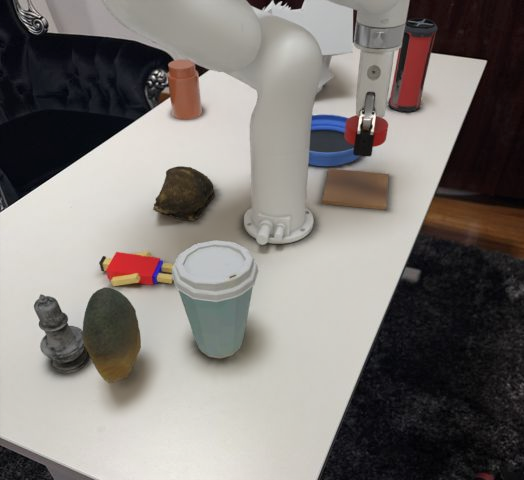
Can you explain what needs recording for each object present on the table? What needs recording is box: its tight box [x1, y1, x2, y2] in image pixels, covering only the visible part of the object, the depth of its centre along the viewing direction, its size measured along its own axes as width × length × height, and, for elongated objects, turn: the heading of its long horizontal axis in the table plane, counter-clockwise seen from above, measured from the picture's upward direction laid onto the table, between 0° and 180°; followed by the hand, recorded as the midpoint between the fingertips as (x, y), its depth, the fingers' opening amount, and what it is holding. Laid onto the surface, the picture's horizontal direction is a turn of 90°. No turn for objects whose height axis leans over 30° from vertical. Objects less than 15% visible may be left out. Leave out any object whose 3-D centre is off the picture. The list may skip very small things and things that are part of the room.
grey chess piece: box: [33, 293, 91, 374], centre depth 64 cm, size 6×6×12 cm
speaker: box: [388, 17, 438, 113], centre depth 115 cm, size 8×8×18 cm
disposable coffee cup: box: [171, 239, 259, 359], centre depth 65 cm, size 11×11×15 cm
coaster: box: [321, 168, 389, 211], centre depth 97 cm, size 12×12×1 cm
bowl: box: [308, 113, 361, 167], centre depth 107 cm, size 18×18×4 cm
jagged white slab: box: [261, 0, 354, 95], centre depth 119 cm, size 20×16×25 cm
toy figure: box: [98, 250, 174, 287], centre depth 80 cm, size 2×7×12 cm
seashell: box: [152, 165, 216, 221], centre depth 92 cm, size 16×9×7 cm, turn 160°
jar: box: [166, 58, 203, 120], centre depth 117 cm, size 7×7×11 cm
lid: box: [344, 114, 389, 148], centre depth 88 cm, size 8×8×2 cm
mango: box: [82, 286, 142, 384], centre depth 61 cm, size 10×6×15 cm, turn 170°
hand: (363, 143), depth 90 cm, fingers closed on lid, 7 cm apart
